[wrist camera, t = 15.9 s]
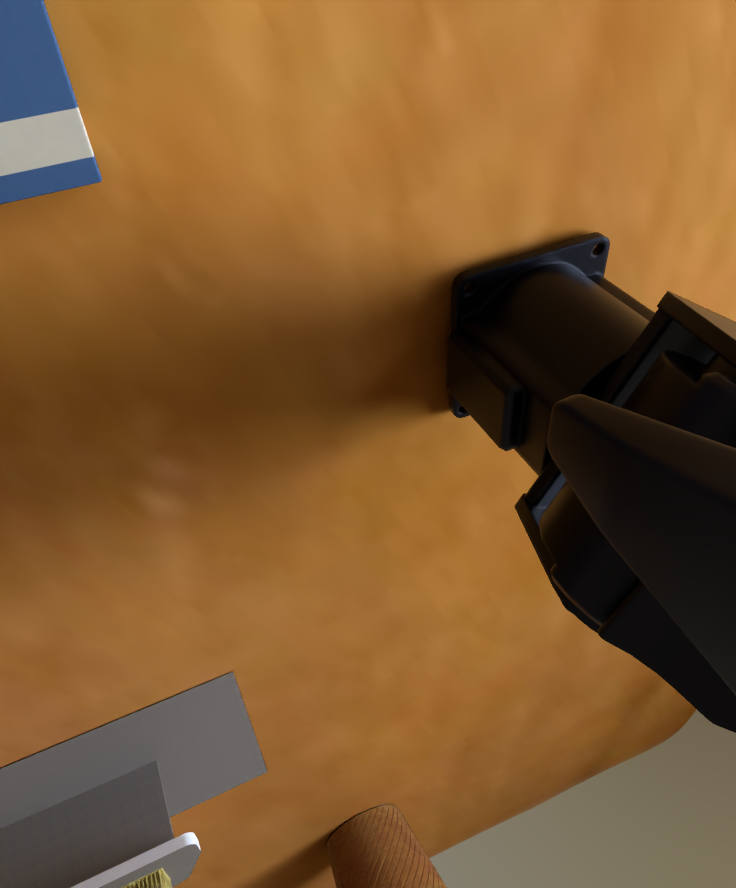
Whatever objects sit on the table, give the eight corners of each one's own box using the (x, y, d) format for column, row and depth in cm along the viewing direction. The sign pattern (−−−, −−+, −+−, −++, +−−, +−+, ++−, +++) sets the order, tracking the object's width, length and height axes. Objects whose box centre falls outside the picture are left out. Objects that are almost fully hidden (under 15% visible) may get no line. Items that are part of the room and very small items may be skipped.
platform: (267, 771, 42) (305, 884, 37) (-52, 920, 37) (-52, 1070, 32) (232, 671, 34) (276, 800, 29) (-184, 845, 29) (-207, 1031, 24)
